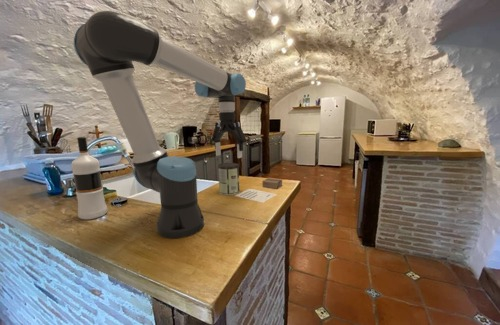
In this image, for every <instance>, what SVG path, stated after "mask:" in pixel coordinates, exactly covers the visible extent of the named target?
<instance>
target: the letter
mask: <svg viewBox="0 0 500 325" xmlns="http://www.w3.org/2000/svg"><path fill="white" fill-rule="evenodd" d="M277 195H278V194H277V193H273V192H268V191H263V190H258V189H253V188H248V189H246V190H244V191H241V192H239V193H237V194H234V197H237V198H242V199H245V200H246V199H247V200H249V201H255V202H258V203H265V202H267V201H268V200H270V199H272V198H273V197H276V196H277Z"/></svg>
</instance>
